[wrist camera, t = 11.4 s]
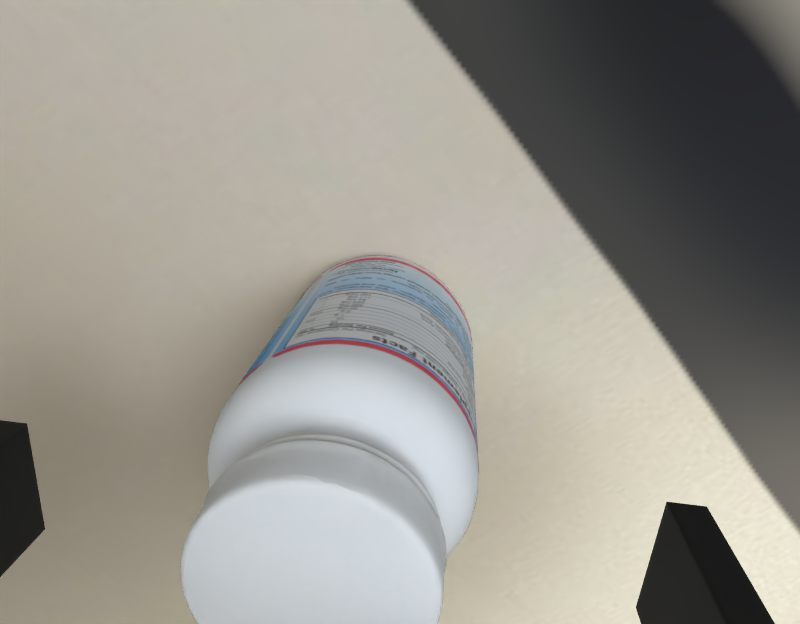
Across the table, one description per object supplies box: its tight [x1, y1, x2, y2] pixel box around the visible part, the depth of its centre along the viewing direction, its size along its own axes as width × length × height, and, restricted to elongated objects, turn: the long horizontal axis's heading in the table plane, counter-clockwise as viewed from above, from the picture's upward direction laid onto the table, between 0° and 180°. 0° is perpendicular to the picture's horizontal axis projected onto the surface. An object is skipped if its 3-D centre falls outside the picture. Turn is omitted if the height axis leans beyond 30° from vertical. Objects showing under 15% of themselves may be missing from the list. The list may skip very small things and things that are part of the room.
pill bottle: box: [180, 255, 479, 624], centre depth 15 cm, size 6×6×11 cm
